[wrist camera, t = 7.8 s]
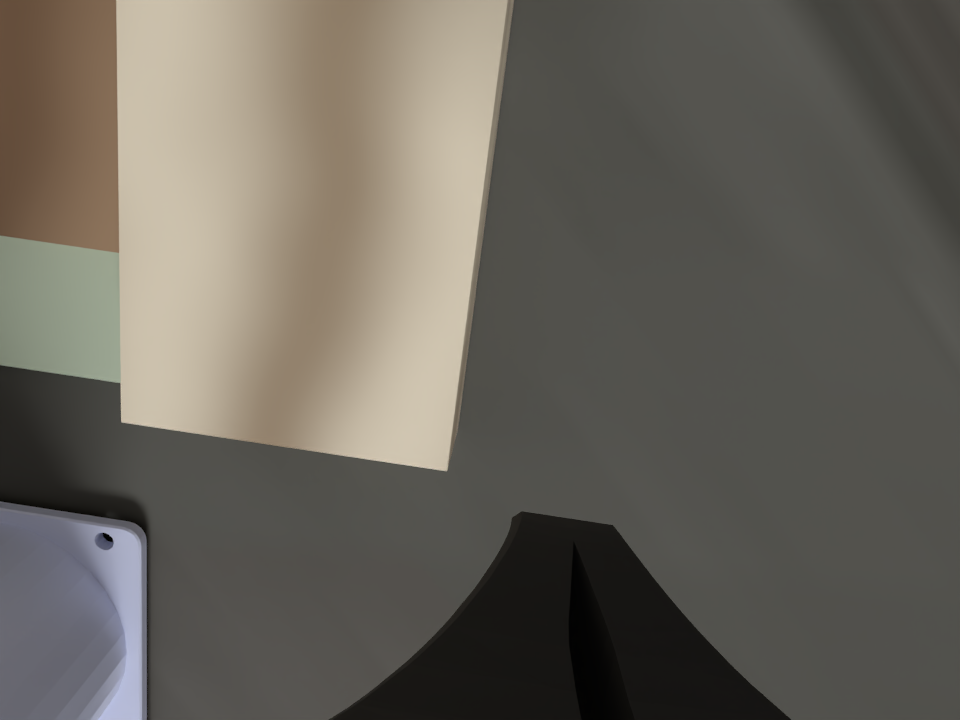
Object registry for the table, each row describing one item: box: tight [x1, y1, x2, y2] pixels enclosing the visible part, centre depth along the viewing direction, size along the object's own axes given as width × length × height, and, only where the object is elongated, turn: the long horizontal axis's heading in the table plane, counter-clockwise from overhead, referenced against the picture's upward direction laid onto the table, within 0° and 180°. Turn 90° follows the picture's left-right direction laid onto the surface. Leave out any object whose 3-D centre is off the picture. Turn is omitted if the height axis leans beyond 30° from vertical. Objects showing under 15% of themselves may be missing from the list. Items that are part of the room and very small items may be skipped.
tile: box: [0, 0, 119, 253], centre depth 17 cm, size 6×9×2 cm, turn 172°
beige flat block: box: [116, 0, 514, 471], centre depth 17 cm, size 8×16×2 cm, turn 173°
